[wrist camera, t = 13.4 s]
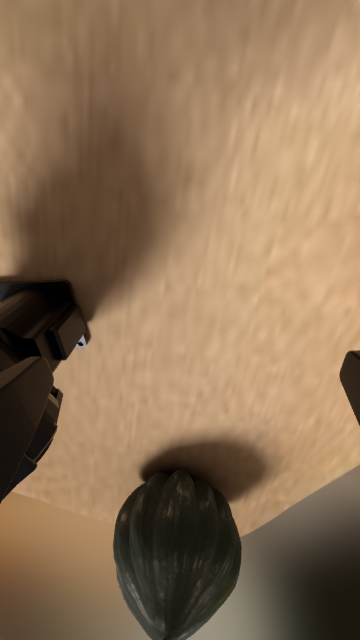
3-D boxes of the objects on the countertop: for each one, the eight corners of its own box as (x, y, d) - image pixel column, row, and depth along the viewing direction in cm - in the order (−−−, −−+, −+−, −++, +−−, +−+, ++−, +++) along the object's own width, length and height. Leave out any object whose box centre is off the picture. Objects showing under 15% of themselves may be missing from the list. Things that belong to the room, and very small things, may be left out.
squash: (190, 572, 37) (239, 709, 23) (94, 542, 34) (80, 675, 20) (225, 472, 40) (286, 535, 26) (139, 438, 38) (154, 487, 23)
